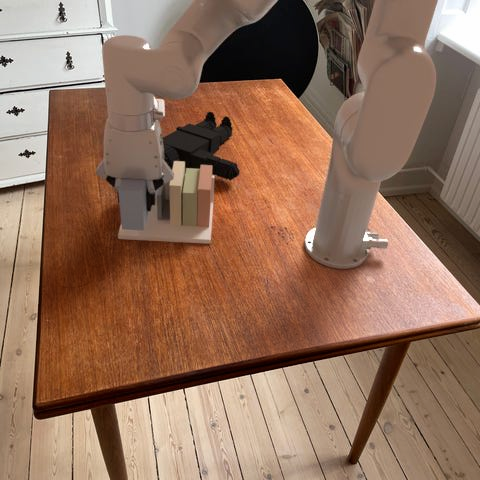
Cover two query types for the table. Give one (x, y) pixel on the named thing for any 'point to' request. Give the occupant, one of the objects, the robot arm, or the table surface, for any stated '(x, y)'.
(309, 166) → the table surface
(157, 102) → the light switch
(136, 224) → the grey block
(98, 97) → the table surface
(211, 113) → the toy
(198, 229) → the shelf
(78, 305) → the table surface
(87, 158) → the table surface
